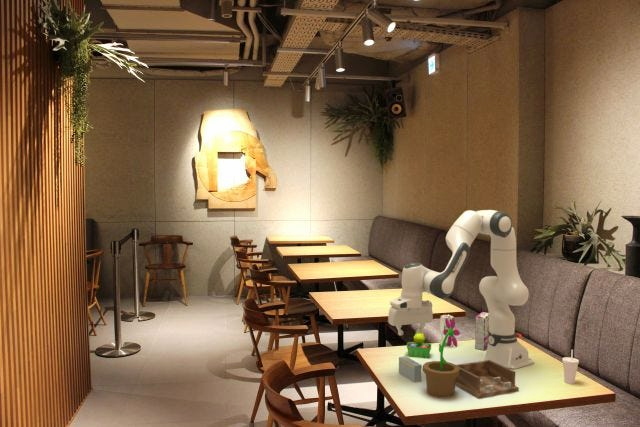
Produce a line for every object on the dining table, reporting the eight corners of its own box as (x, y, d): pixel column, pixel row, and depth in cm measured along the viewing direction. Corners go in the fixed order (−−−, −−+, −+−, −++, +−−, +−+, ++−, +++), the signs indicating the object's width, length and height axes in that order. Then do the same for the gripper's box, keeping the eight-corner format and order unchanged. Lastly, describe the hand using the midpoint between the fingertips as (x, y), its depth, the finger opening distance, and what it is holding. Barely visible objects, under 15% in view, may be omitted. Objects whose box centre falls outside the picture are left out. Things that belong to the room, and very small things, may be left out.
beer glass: (453, 348, 274) (454, 318, 273) (439, 347, 276) (440, 317, 275) (453, 344, 281) (454, 315, 280) (439, 343, 283) (440, 314, 282)
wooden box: (489, 376, 236) (490, 359, 236) (518, 391, 221) (519, 372, 220) (451, 383, 228) (451, 365, 228) (478, 398, 213) (479, 379, 212)
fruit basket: (406, 356, 261) (406, 333, 260) (407, 351, 269) (408, 328, 269) (430, 359, 258) (431, 335, 257) (431, 353, 267) (432, 330, 266)
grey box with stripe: (398, 373, 239) (398, 357, 239) (405, 371, 241) (405, 356, 240) (413, 382, 229) (414, 366, 228) (421, 381, 230) (421, 364, 229)
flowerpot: (466, 397, 213) (468, 321, 211) (432, 401, 209) (435, 323, 207) (447, 384, 227) (449, 312, 225) (415, 387, 223) (417, 314, 221)
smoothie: (570, 386, 227) (572, 352, 226) (557, 381, 232) (559, 348, 231) (581, 383, 230) (583, 350, 229) (568, 378, 235) (569, 346, 234)
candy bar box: (480, 343, 284) (481, 311, 283) (490, 345, 281) (491, 313, 280) (474, 349, 274) (475, 316, 273) (484, 350, 272) (485, 317, 270)
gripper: (427, 298, 240) (426, 329, 240) (386, 301, 231) (385, 334, 232) (436, 301, 234) (435, 333, 235) (394, 305, 226) (393, 338, 226)
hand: (410, 334), depth 233 cm, fingers open, 8 cm apart
